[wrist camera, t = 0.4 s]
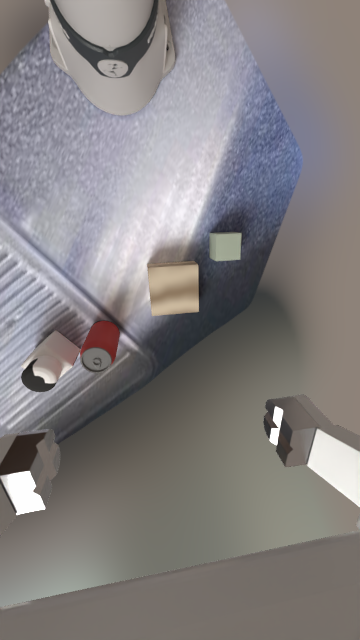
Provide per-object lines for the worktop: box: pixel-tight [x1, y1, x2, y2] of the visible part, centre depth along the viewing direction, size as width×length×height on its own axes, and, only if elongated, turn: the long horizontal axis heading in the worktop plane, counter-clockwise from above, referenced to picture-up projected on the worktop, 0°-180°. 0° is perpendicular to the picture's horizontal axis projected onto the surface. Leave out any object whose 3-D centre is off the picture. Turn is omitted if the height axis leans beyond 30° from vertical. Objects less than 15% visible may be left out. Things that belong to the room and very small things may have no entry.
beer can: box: [80, 321, 120, 373], centre depth 50 cm, size 7×7×12 cm
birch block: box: [147, 261, 199, 316], centre depth 51 cm, size 10×10×5 cm
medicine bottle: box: [21, 330, 80, 392], centre depth 50 cm, size 7×7×12 cm
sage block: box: [209, 232, 242, 261], centre depth 49 cm, size 5×5×5 cm
